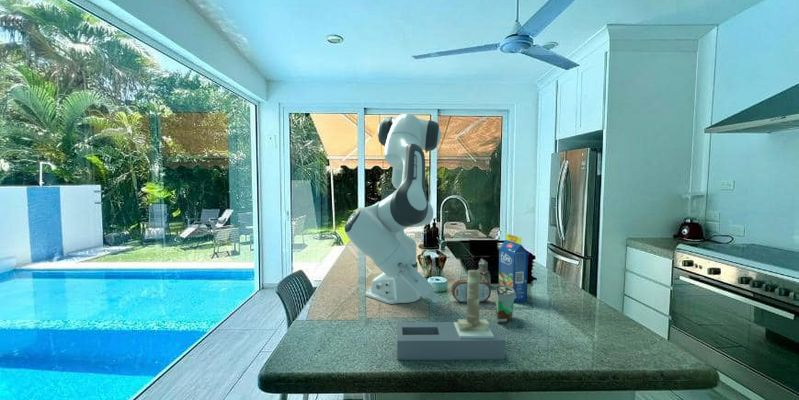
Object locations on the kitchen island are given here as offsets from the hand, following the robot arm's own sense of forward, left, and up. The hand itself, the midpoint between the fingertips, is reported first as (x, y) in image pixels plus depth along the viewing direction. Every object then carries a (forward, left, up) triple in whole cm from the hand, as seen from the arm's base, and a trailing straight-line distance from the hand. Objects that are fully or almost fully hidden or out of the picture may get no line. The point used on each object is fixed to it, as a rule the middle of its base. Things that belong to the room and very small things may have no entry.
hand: (431, 294), depth 93 cm
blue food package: (+7, +59, -16) cm, 61 cm away
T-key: (+9, +9, -10) cm, 16 cm away
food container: (+11, +35, -16) cm, 40 cm away
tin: (-5, +45, -16) cm, 48 cm away
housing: (+3, +5, -16) cm, 17 cm away
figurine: (-8, +67, -16) cm, 69 cm away
